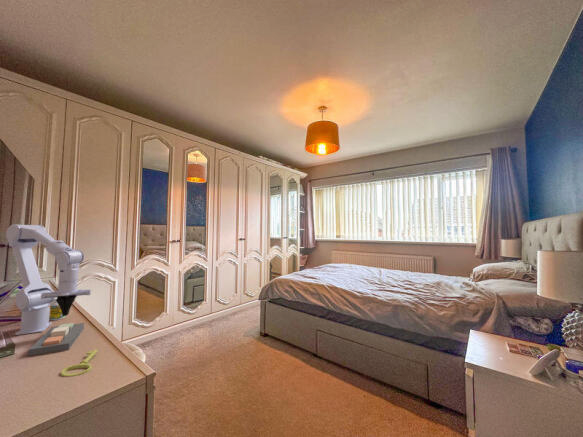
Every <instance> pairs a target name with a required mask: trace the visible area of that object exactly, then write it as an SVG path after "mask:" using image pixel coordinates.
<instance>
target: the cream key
mask: <svg viewBox="0 0 583 437" xmlns="http://www.w3.org/2000/svg"><path fill="white" fill-rule="evenodd" d="M68 333H69V326H67V327H60V328H55V329H54V330H53V331H52V332H51V337H56V336H66V335H67V334H68Z"/></svg>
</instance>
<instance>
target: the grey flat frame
mask: <svg viewBox="0 0 583 437" xmlns="http://www.w3.org/2000/svg"><path fill="white" fill-rule="evenodd" d="M59 326H60V325H57V326H51V327H50V328H49V329H48V330H47V331H46V332H45V333H44V334H43V335H42V336H41V337H40V338H39V339H38V340H37V341H36V342H35V343H34V344H33V345H31V347H29V349H28V352H27V353H28V354H27V357H34V356H39V355H45V354H51V353H57V352H65V351H70V349H71V347H72V346H73V344H74V343H75V342H76V340H77V339H78V338H79V336H80V334H81V333H82V332H83V330H84V329H85V322H81V323H74V327H73V328H72V329H70V330H69V333H68V334H67V335H66V336H63V340H62V342H61V343H59V344H53V345H46V346H43V342H44V341H45V340H46V339H47V338H49V337H51V332H52V331H53V330H54V329H55V328H58V327H59Z"/></svg>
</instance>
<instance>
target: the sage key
mask: <svg viewBox="0 0 583 437" xmlns="http://www.w3.org/2000/svg"><path fill="white" fill-rule="evenodd" d="M74 324H75V322H70V323H62V324H60V325H58V326H59V327H58V328H60V327H67V326H69V330H70V329H72V328H73V327H74Z"/></svg>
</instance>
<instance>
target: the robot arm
mask: <svg viewBox="0 0 583 437" xmlns="http://www.w3.org/2000/svg"><path fill="white" fill-rule="evenodd" d="M47 230H48V229H47V227H44V225H42V224H16V223H13V224H11V225H10V226H8V228H7V230H6V231H5V236H6V240H7V242H8V246H9V247H10V248H11V250H12V253H13V256H14V260H15V263H16V267H17V269H18V272H19V273H18V274H19V276H20V281H21V283H22V288H21V289H20V290H18V291H17V292H16V294H15V298H16V299H15V306H16V307H17V309H18V310H19V311H21V319H20V328H19V329H20V330H18V331H16V332H15V334H14V336H18V335H19V336H20V335H25V334H26V335H27V334H33V333H41V332H44V331H45V330H46V329H47V328H49V326H50V325H51V324H52V322H51V321H50V320H49V316H50V305H51V303H53V301H54V299H55V298H56V297H57V300H56V301H57V303H58V304H59V306H60V308H61V311H62V316H65V317H66V316H69V313H70V311H71V310H70V309H71V307H72V306H73V303H74V301H75V300H76V299H77V297H79V296H91V294H92V289H78V282H79V272H80V264H81V263H82V262H84V258H85V256H84V253H83V251H82V250H81V249H73V248H72V246H69V245H68V244H66V243H65V241H64V240H61V239H60V240H59V239H58V240H56V239H54V237H53V236H51V234H49V233H48V231H47ZM39 243H40V244H42V245H43V246H45V247H46V248H45V250H46V252H47V253H48V254H50V255H51V256H53V257H54V258H55V262H56V264H57V270H58V271H59V272H58V282H57V285H58V286H57V291H54V290H53V289H52V287H51V284H48V283H46V282H43V281H42V279H41V275H40V272H39V269H38V266H37V265H38V264H37V262H36V259H35V255H34V252H33V247H35V246H37V245H38V244H39Z"/></svg>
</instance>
